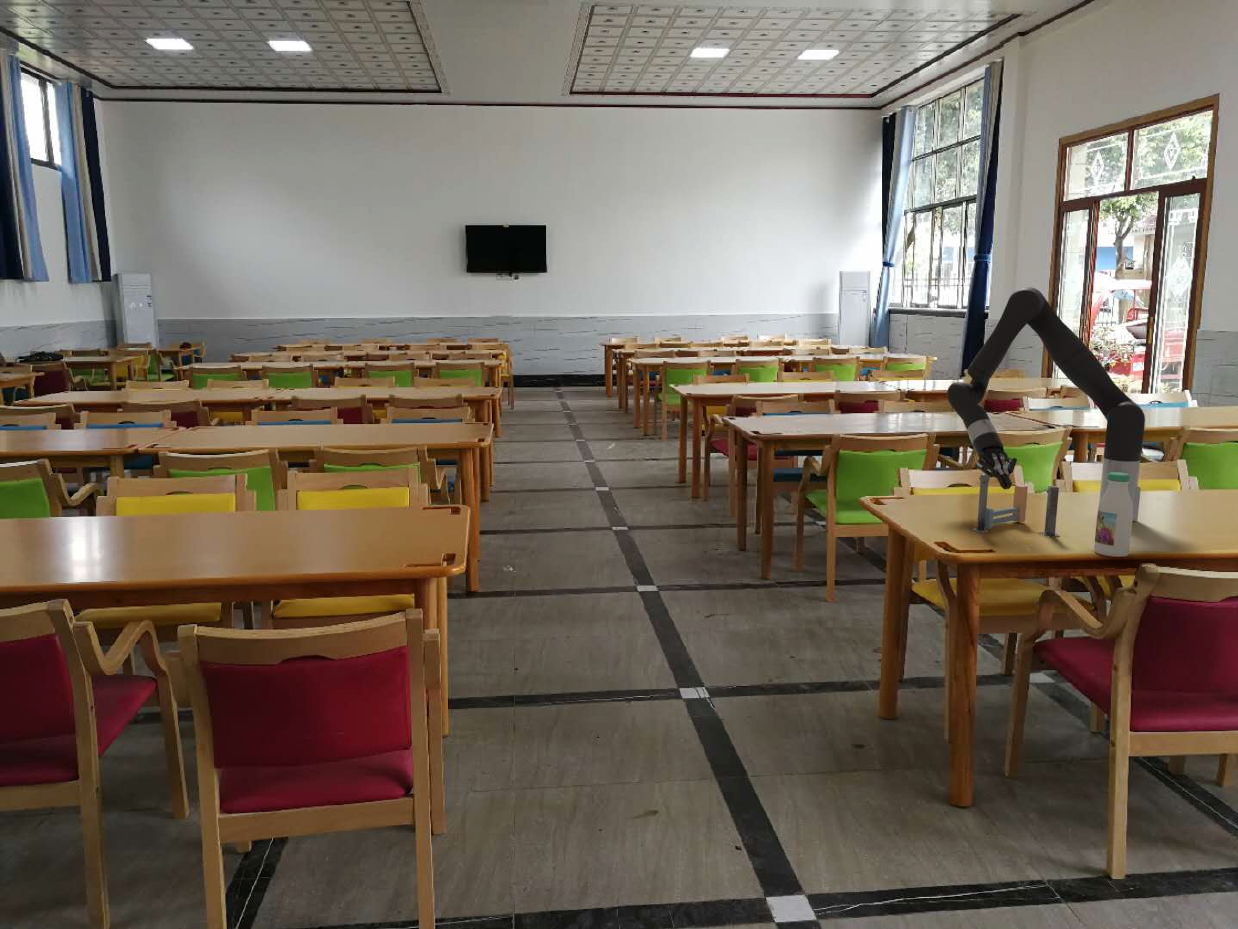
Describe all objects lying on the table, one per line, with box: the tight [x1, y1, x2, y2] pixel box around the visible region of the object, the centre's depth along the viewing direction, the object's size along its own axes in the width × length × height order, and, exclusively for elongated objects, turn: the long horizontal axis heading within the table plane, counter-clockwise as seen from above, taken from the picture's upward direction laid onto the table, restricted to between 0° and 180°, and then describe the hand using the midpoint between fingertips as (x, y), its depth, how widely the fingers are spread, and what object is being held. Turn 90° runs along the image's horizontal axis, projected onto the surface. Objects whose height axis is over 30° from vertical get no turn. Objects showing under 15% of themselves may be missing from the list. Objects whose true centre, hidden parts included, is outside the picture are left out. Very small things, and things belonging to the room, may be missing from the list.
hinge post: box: [972, 473, 991, 534], centre depth 254 cm, size 4×4×16 cm
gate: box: [985, 484, 1029, 530], centre depth 260 cm, size 16×2×10 cm, turn 124°
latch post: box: [1038, 485, 1061, 538], centre depth 250 cm, size 4×4×13 cm
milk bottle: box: [1093, 472, 1134, 558], centre depth 231 cm, size 8×8×20 cm
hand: (1007, 487), depth 268 cm, fingers closed
